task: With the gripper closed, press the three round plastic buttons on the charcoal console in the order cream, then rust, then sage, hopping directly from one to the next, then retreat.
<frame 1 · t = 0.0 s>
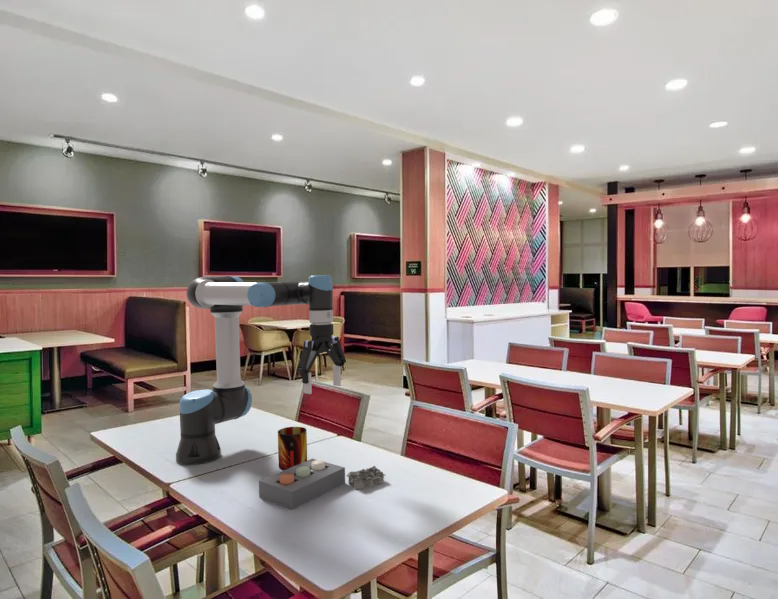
hand: (322, 389, 168), 28 cm above the table, fingers open, 13 cm apart
sage button: (303, 474, 158), point 5 cm above the table, slide at 0.0 cm
rust button: (286, 481, 152), point 5 cm above the table, slide at 0.0 cm
egg carton: (365, 484, 163), on the table
console: (303, 490, 158), on the table
cream button: (318, 467, 163), point 5 cm above the table, slide at 0.0 cm
mug: (295, 467, 177), on the table
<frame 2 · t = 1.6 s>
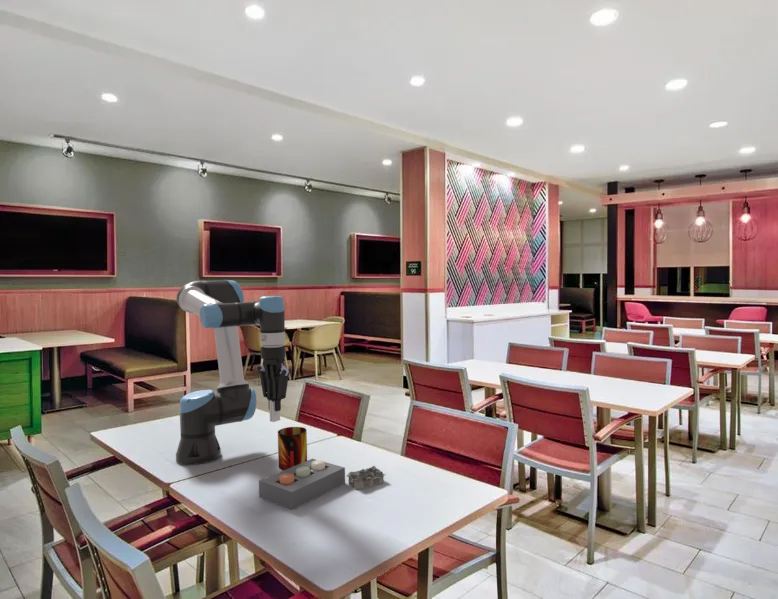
hand: (275, 420, 164), 19 cm above the table, fingers closed
nothing on the table moved.
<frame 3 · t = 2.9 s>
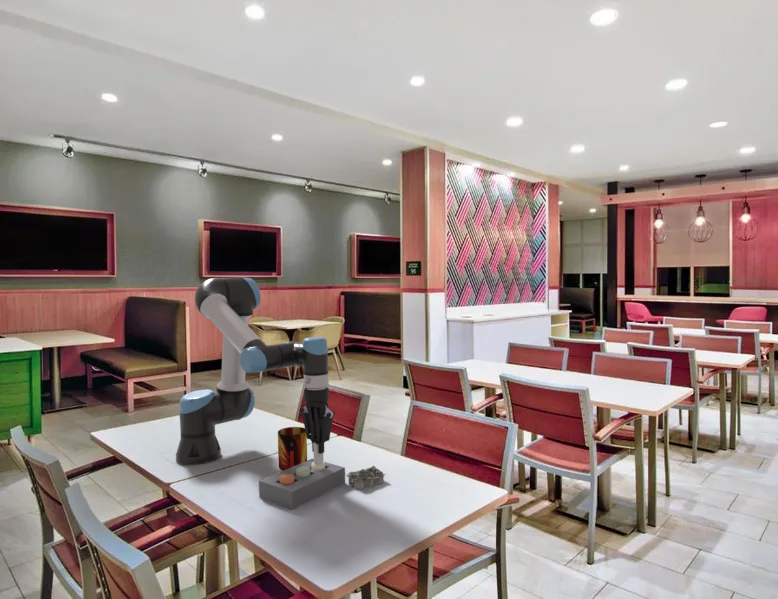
hand: (318, 462, 163), 6 cm above the table, fingers closed
cream button: (318, 468, 163), point 5 cm above the table, slide at 0.3 cm, touching gripper
everything else where it was.
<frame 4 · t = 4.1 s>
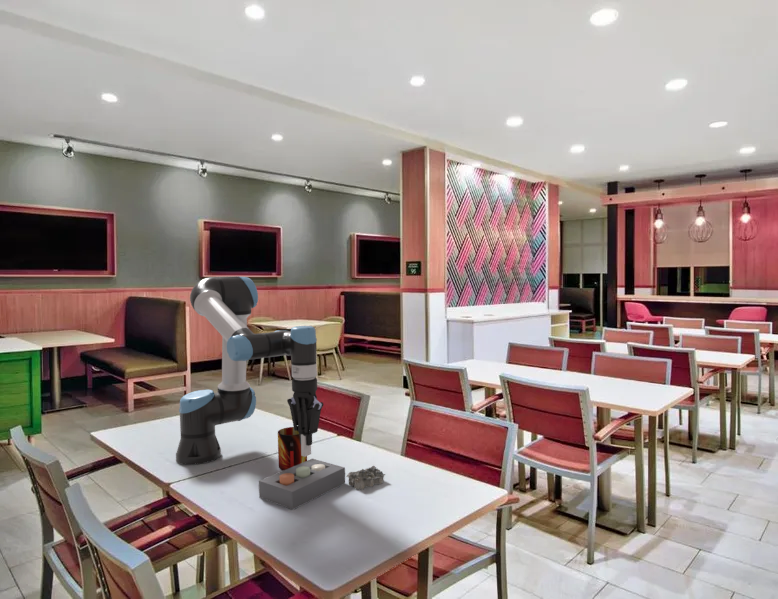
hand: (306, 454, 159), 10 cm above the table, fingers closed
cream button: (318, 471, 163), point 4 cm above the table, slide at 1.3 cm
everything else where it was.
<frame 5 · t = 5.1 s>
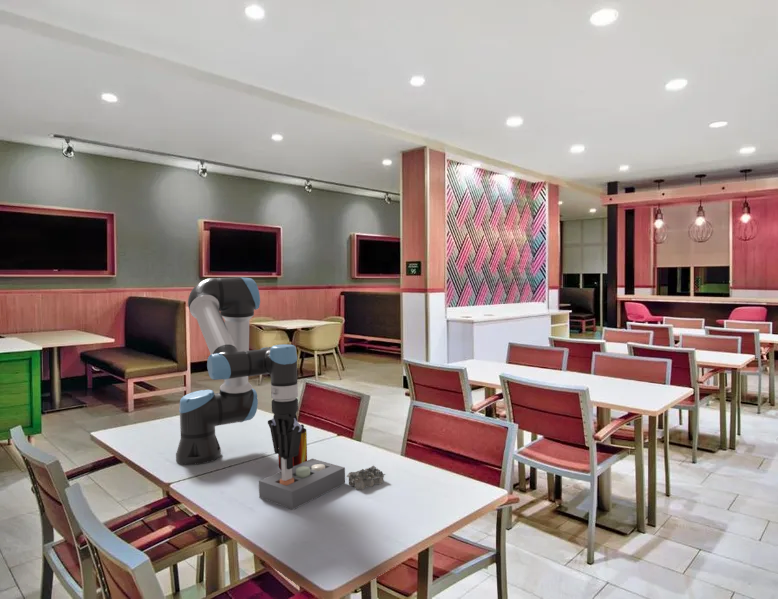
hand: (287, 478, 152), 6 cm above the table, fingers closed
rust button: (287, 485, 153), point 4 cm above the table, slide at 1.1 cm
everything else where it was.
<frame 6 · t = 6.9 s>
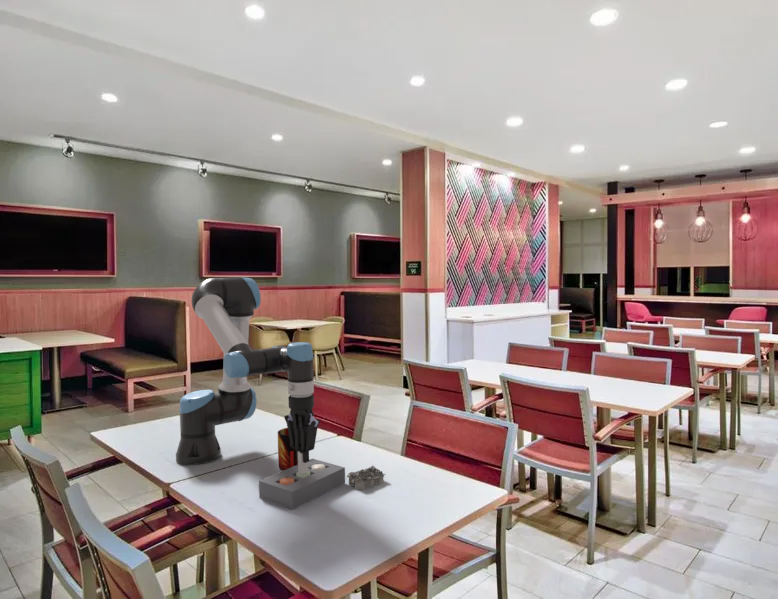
hand: (303, 472, 158), 6 cm above the table, fingers closed
sage button: (303, 478, 158), point 4 cm above the table, slide at 1.2 cm, touching gripper
everything else where it was.
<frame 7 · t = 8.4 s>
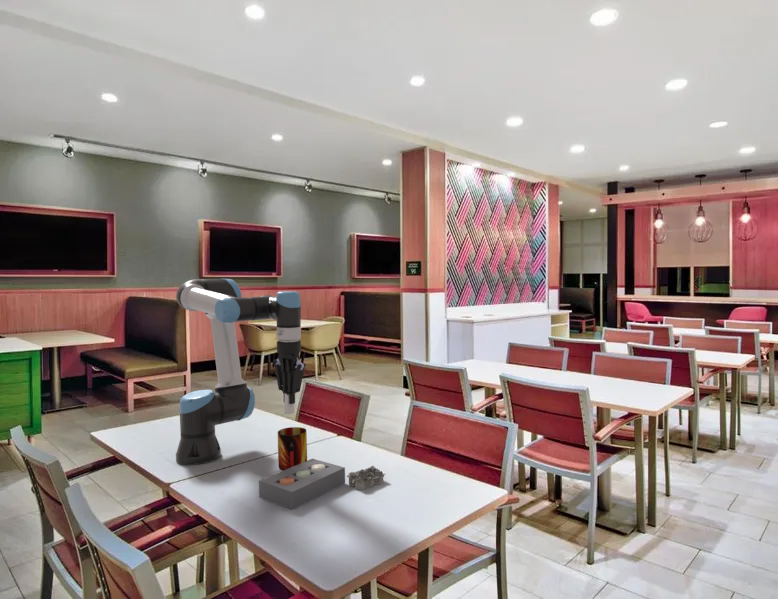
hand: (289, 413, 168), 21 cm above the table, fingers closed
sage button: (303, 478, 158), point 4 cm above the table, slide at 1.3 cm
everything else where it was.
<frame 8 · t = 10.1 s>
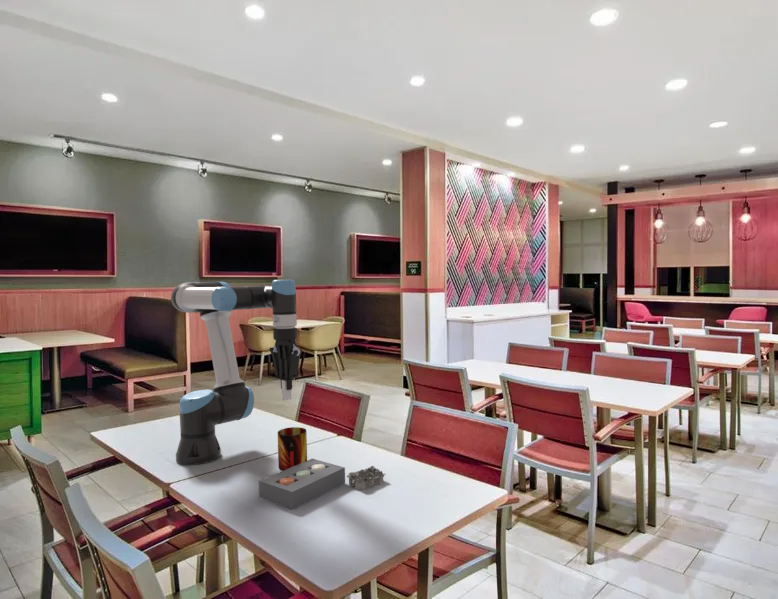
hand: (286, 399, 171), 24 cm above the table, fingers closed
nothing on the table moved.
at the end: cream button slide at 1.3 cm; rust button slide at 1.3 cm; sage button slide at 1.3 cm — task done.
